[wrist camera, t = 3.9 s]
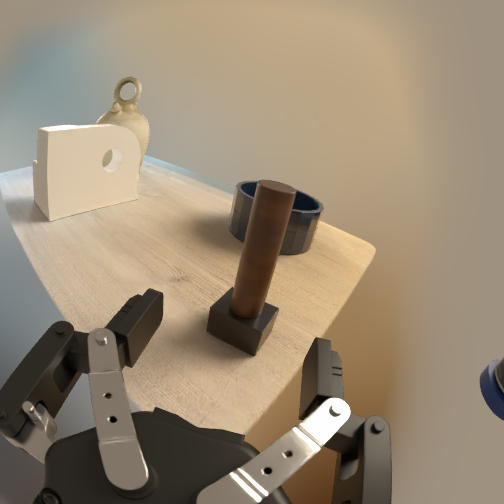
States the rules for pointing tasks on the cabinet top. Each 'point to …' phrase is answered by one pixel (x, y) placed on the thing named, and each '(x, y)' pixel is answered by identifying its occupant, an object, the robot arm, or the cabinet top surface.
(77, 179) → the tape dispenser
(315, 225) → the pot
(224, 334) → the brown cylinder
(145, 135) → the jug
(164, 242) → the cabinet top surface
